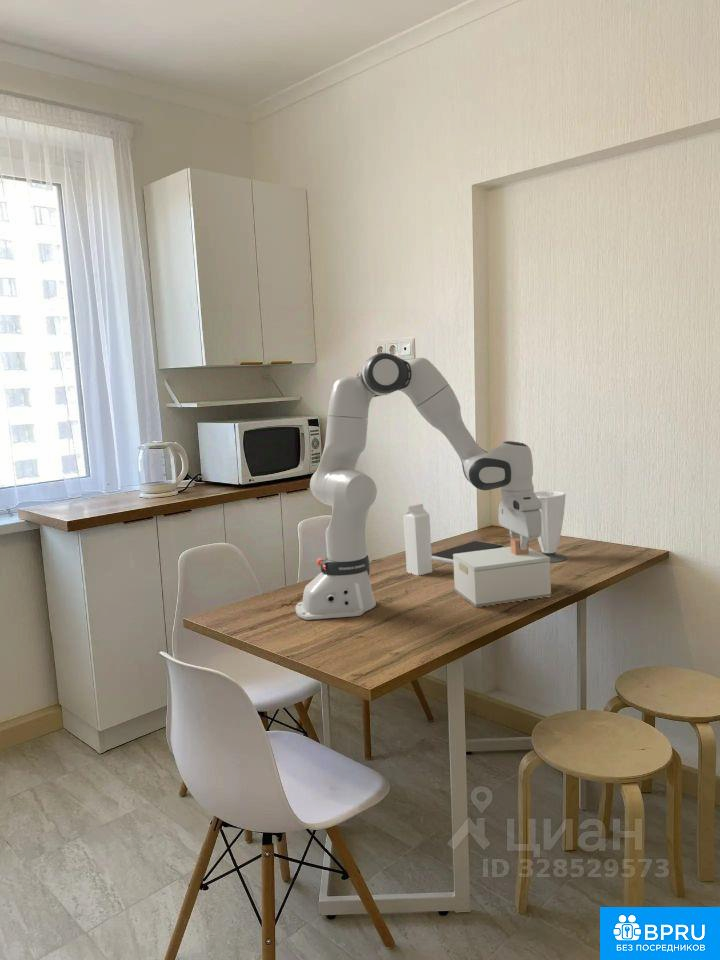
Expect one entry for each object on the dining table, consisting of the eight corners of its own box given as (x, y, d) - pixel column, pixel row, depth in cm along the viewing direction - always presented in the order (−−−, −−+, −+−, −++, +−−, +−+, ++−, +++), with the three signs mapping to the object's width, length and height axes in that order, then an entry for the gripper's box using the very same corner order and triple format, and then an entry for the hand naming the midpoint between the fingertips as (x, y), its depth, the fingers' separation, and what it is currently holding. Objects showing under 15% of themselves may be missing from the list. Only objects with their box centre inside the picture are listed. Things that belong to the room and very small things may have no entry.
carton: (475, 608, 191) (473, 571, 190) (454, 591, 207) (452, 558, 205) (551, 596, 196) (549, 561, 194) (524, 581, 211) (523, 548, 210)
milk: (406, 572, 230) (401, 505, 227) (421, 568, 233) (416, 502, 230) (418, 576, 225) (414, 507, 222) (433, 572, 228) (428, 504, 225)
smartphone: (505, 549, 253) (505, 544, 253) (455, 566, 235) (455, 560, 235) (475, 544, 263) (475, 540, 263) (425, 560, 245) (425, 555, 245)
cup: (532, 553, 242) (529, 491, 239) (567, 553, 239) (565, 490, 236) (530, 562, 231) (528, 497, 228) (567, 562, 228) (565, 496, 225)
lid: (474, 571, 190) (473, 552, 189) (453, 557, 205) (452, 540, 204) (549, 560, 194) (549, 543, 194) (523, 548, 210) (523, 531, 209)
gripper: (492, 494, 208) (494, 541, 210) (523, 506, 188) (525, 557, 190) (512, 492, 209) (513, 538, 211) (545, 503, 190) (546, 554, 192)
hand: (519, 547), depth 201 cm, fingers closed on lid, 3 cm apart
